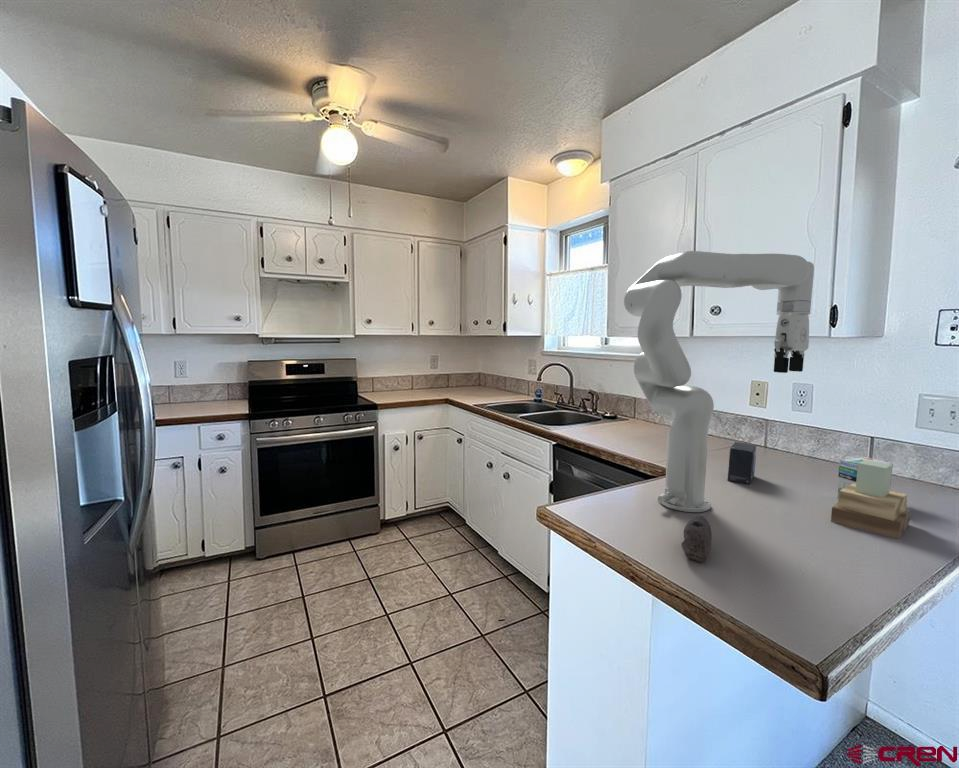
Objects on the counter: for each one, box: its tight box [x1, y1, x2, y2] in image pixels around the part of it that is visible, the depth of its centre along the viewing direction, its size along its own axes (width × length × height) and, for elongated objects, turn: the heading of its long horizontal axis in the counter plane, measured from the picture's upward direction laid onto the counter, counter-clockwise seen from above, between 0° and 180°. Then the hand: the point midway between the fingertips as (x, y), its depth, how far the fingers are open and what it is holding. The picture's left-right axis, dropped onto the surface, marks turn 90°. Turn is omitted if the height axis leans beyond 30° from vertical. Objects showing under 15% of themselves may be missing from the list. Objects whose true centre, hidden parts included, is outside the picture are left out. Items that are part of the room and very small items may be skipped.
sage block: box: [855, 460, 893, 498], centre depth 105 cm, size 5×5×7 cm
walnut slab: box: [830, 502, 911, 540], centre depth 106 cm, size 12×12×4 cm
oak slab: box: [837, 483, 908, 521], centre depth 105 cm, size 10×10×4 cm
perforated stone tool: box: [681, 515, 713, 563], centre depth 92 cm, size 15×5×7 cm, turn 148°
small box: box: [727, 441, 757, 485], centre depth 138 cm, size 11×6×10 cm, turn 143°
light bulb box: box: [836, 456, 894, 498], centre depth 121 cm, size 11×7×11 cm, turn 105°
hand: (788, 371), depth 122 cm, fingers open, 9 cm apart
